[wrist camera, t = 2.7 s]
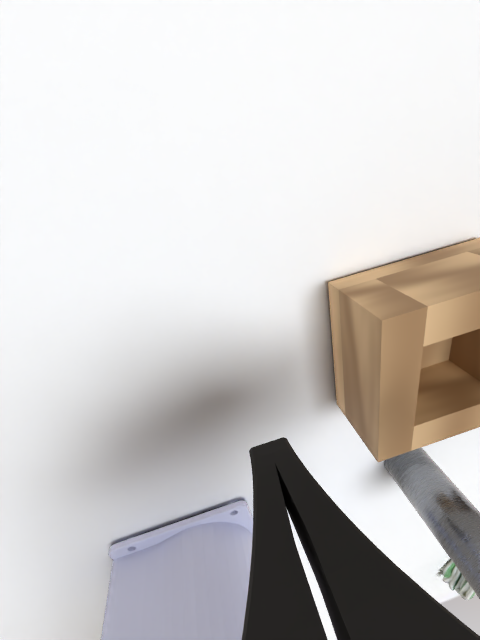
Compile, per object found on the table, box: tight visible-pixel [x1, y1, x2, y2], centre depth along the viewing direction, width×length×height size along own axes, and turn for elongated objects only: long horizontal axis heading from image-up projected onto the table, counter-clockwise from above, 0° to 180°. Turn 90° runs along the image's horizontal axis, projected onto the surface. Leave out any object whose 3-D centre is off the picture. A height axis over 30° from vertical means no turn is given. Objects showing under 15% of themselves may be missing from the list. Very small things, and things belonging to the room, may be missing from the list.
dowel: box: [384, 448, 480, 599], centre depth 18 cm, size 3×3×8 cm
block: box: [328, 238, 480, 462], centre depth 14 cm, size 8×8×4 cm
